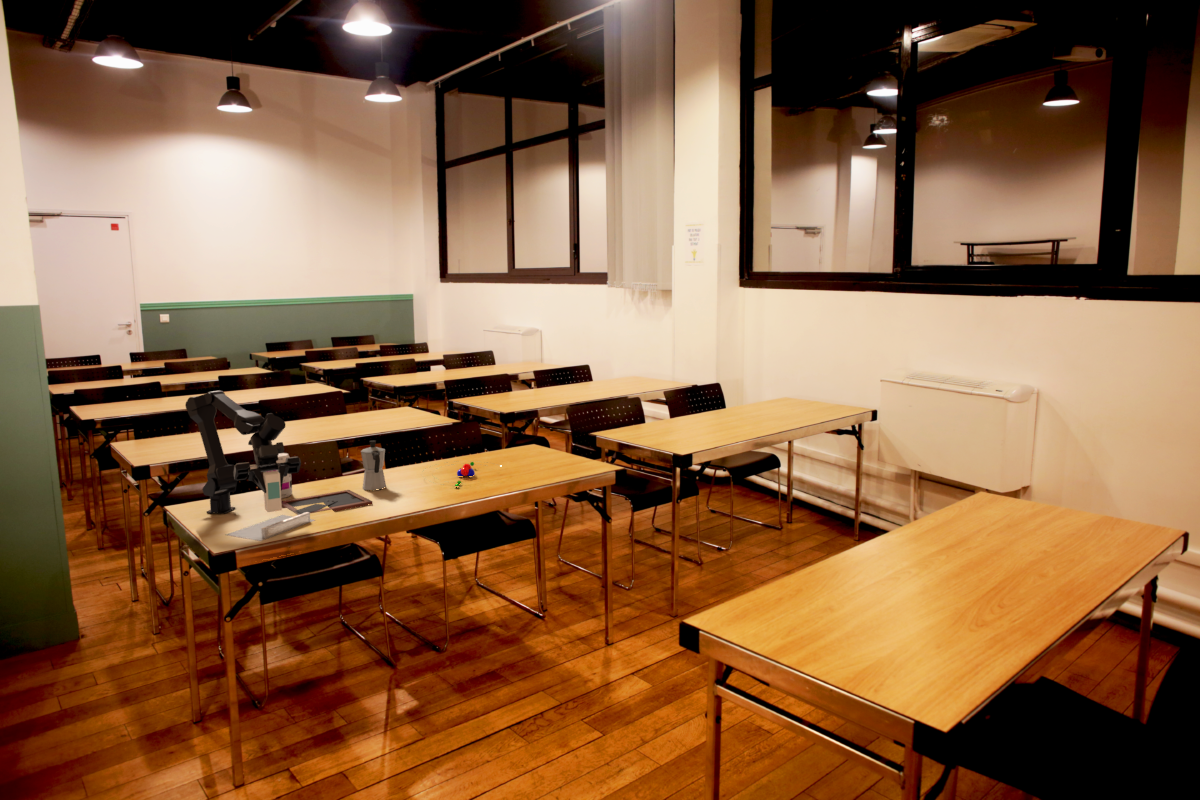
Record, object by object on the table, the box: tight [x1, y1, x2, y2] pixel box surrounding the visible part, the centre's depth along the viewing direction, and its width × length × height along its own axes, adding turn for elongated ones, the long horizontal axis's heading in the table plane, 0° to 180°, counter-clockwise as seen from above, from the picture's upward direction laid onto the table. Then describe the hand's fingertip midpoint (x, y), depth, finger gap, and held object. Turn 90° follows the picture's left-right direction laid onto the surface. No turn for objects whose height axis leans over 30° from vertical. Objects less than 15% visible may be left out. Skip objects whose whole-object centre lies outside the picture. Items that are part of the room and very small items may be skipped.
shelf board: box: [225, 514, 316, 542], centre depth 233 cm, size 14×22×1 cm, turn 157°
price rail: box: [261, 512, 311, 540], centre depth 230 cm, size 1×18×3 cm, turn 157°
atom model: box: [421, 460, 501, 487], centre depth 299 cm, size 35×34×6 cm
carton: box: [262, 471, 283, 513], centre depth 231 cm, size 4×4×12 cm
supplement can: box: [265, 452, 293, 499], centre depth 270 cm, size 8×8×15 cm
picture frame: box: [281, 489, 373, 516], centre depth 261 cm, size 20×2×25 cm
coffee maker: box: [360, 440, 387, 491], centre depth 281 cm, size 15×9×18 cm, turn 27°
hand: (273, 491), depth 230 cm, fingers closed on carton, 4 cm apart
